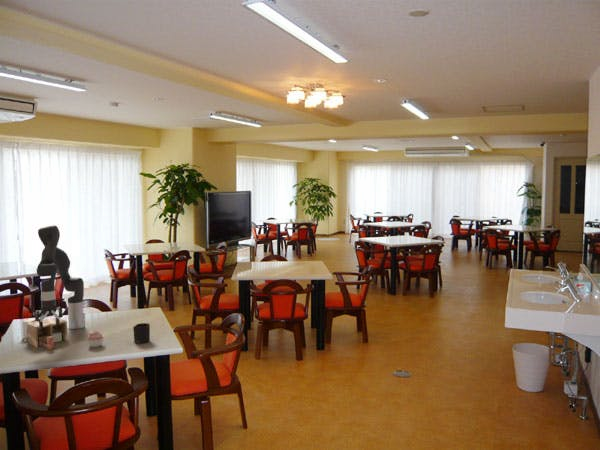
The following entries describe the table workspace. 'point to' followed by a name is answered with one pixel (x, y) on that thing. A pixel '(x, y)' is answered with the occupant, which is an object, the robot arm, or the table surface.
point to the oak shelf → (45, 330)
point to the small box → (26, 327)
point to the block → (57, 336)
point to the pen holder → (141, 333)
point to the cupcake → (95, 339)
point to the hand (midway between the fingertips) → (49, 326)
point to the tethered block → (46, 341)
